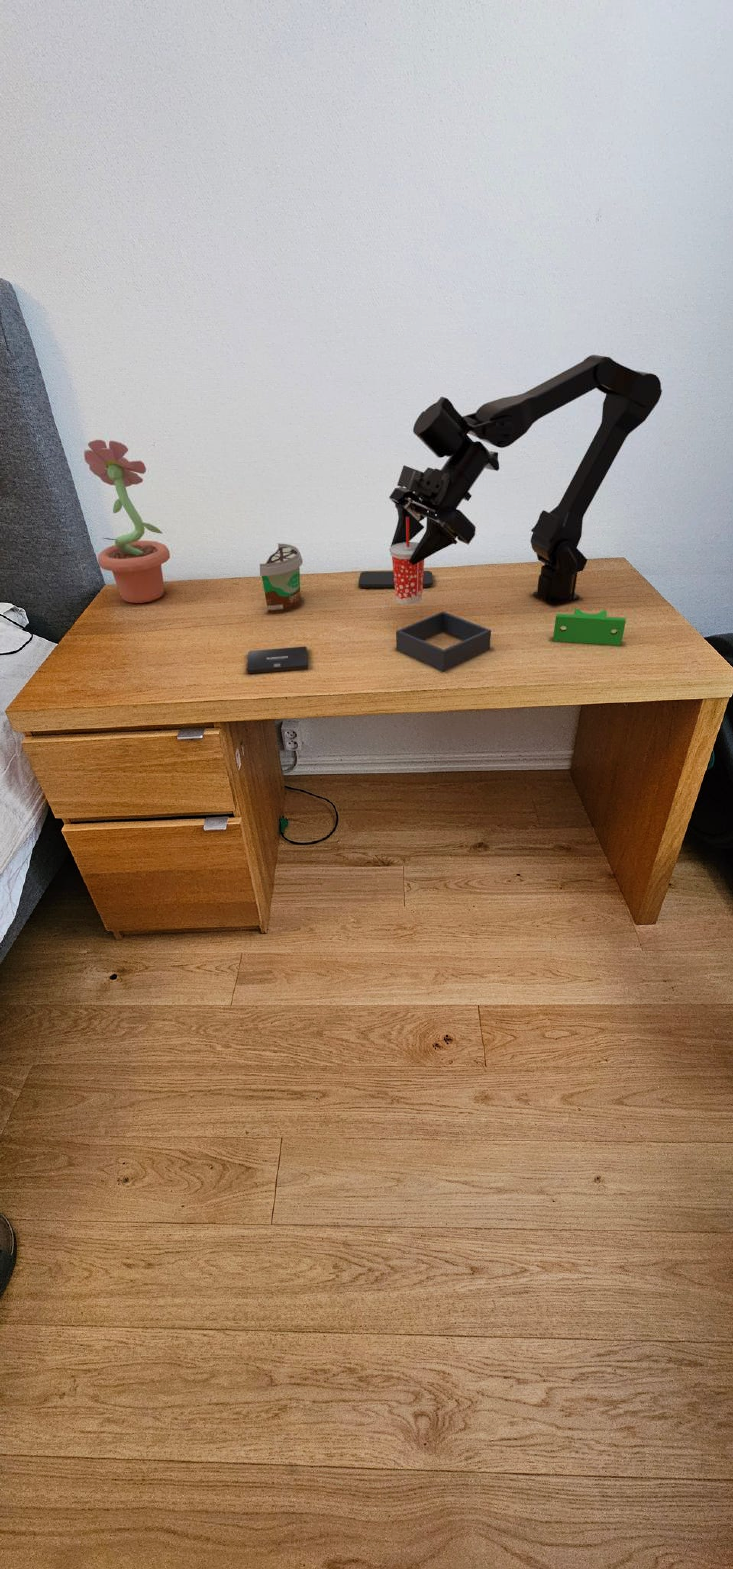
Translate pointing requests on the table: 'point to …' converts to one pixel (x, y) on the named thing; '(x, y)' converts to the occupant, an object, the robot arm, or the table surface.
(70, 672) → the table surface
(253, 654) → the solid state drive
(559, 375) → the robot arm
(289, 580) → the food container
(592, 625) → the pipe clamp
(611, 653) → the table surface
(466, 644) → the box
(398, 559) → the beverage cup
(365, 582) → the phone
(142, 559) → the decorative flower
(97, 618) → the table surface
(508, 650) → the table surface
